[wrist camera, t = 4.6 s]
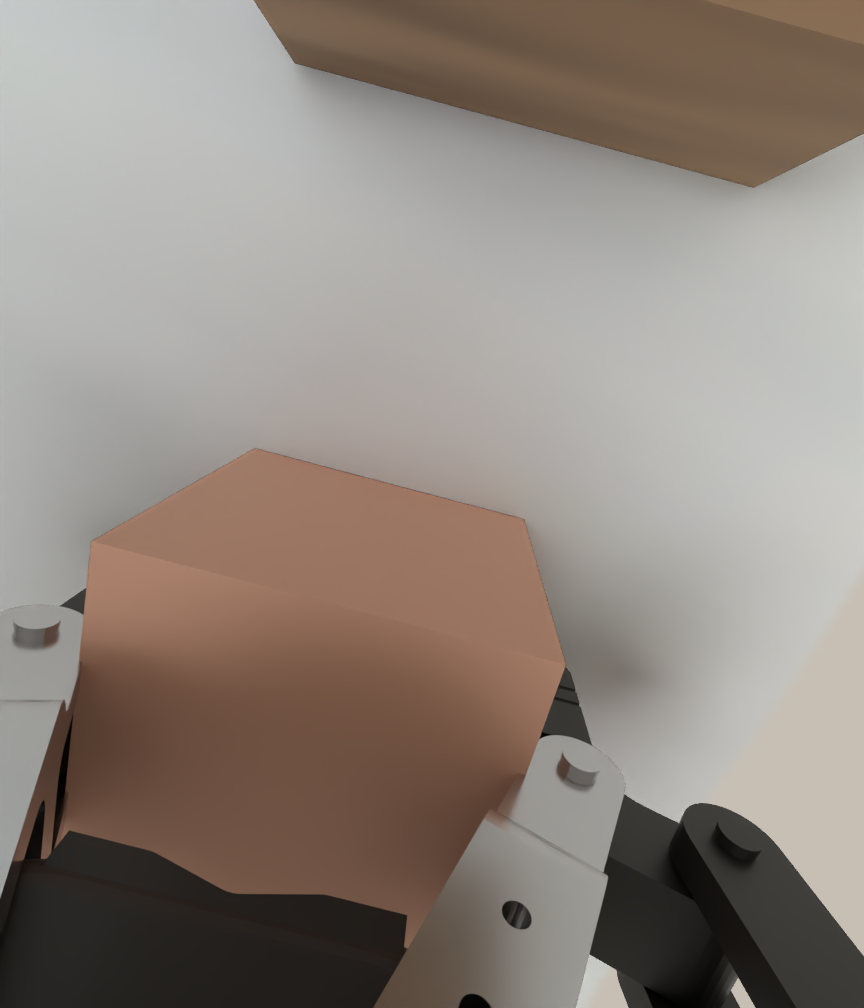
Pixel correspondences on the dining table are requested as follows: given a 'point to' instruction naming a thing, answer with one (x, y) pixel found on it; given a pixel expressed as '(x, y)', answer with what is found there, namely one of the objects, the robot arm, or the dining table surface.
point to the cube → (309, 682)
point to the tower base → (613, 70)
